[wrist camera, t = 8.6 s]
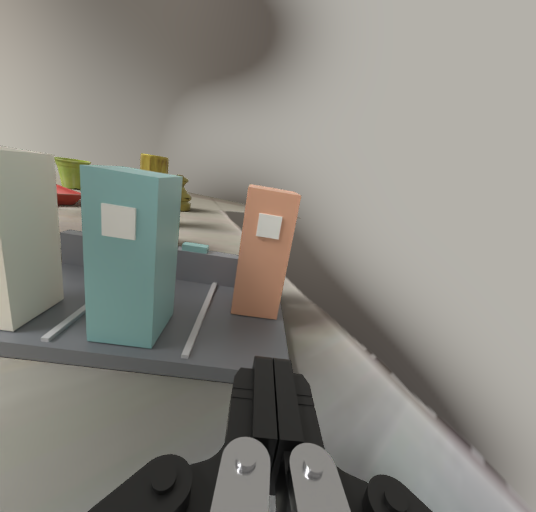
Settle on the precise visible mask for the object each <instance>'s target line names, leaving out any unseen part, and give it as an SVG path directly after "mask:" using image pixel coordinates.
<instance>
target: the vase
mask: <svg viewBox="0 0 536 512" xmlns="http://www.w3.org/2000/svg"><path fill="white" fill-rule="evenodd" d="M140 165H141V167H140V169H141V170H147V171H152V172H158V173H164V174H168V158H166V157H160V156H154V155H149V154H143V153H141V164H140Z"/></svg>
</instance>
